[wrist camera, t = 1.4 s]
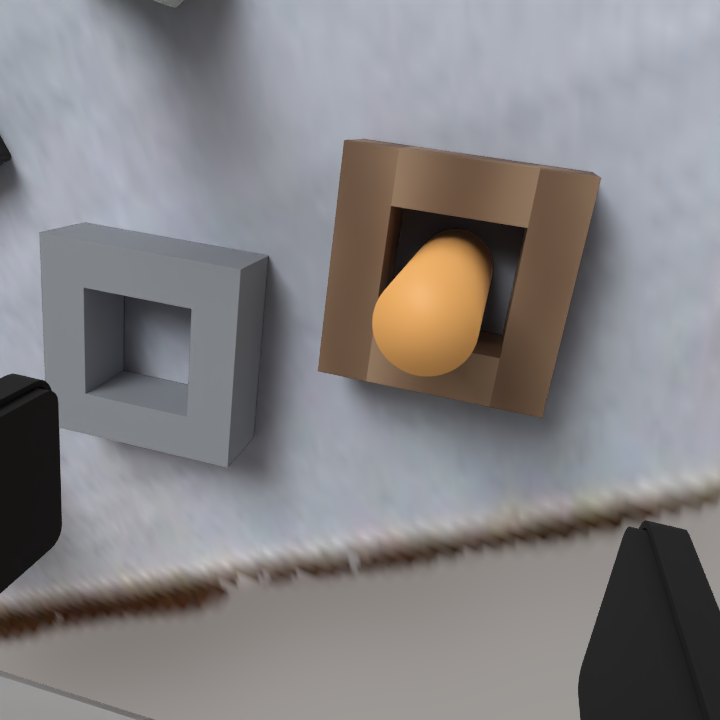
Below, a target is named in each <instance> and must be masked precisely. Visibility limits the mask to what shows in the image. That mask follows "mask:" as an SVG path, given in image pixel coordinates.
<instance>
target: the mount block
mask: <svg viewBox="0 0 720 720" xmlns="http://www.w3.org/2000/svg"><path fill="white" fill-rule="evenodd" d="M600 180H601V178H600V177H599V176H597V175H596V174H594V173H593V172H587V171H580V170H573V169H567V168H560V167H553V166H546V165H539V164H532V163H525V162H518V161H511V160H505V159H498V158H491V157H484V156H477V155H470V154H463V153H456V152H450V151H443V150H436V149H429V148H422V147H415V146H408V145H401V144H394V143H388V142H381V141H374V140H367V139H356V140H344V147H343V156H342V164H341V173H340V182H339V191H338V200H337V208H336V217H335V226H334V235H333V243H332V252H331V261H330V270H329V278H328V287H327V296H326V305H325V313H324V322H323V331H322V340H321V348H320V357H319V366H318V371H319V372H324V373H329V374H334V375H338V376H343V377H348V378H353V379H358V380H363V381H367V382H372V383H377V384H382V385H387V386H392V387H396V388H401V389H406V390H411V391H416V392H420V393H425V394H430V395H435V396H440V397H445V398H449V399H454V400H459V401H464V402H469V403H473V404H478V405H483V406H488V407H493V408H498V409H502V410H507V411H512V412H517V413H522V414H526V415H531V416H536V417H541V418H542V416H543V412H544V408H545V404H546V400H547V396H548V392H549V388H550V384H551V380H552V375H553V371H554V367H555V363H556V359H557V355H558V351H559V347H560V343H561V339H562V335H563V331H564V327H565V323H566V319H567V314H568V310H569V306H570V302H571V298H572V294H573V290H574V286H575V282H576V278H577V274H578V270H579V266H580V262H581V258H582V253H583V249H584V245H585V241H586V237H587V233H588V229H589V225H590V221H591V217H592V213H593V209H594V205H595V201H596V197H597V192H598V188H599V184H600ZM404 208H407V209H413V210H419V211H426V212H432V213H438V214H444V215H450V216H457V217H463V218H469V219H475V220H481V221H488V222H494V223H500V224H506V225H512V226H519V227H525V231H524V236H523V240H522V245H521V250H520V254H519V259H518V264H517V268H516V273H515V278H514V282H513V287H512V292H511V297H510V301H509V306H508V311H507V315H506V320H505V325H504V329H503V334H502V335H500V334H495V333H489V332H484V331H480V332H479V336H478V340H477V343H476V346H475V348H474V350H473V352H472V353H471V355H470V356H469V357H468V359H467V360H466V361H465V362H464V363H463V364H462V365H460V366H459V367H457V368H456V369H454V370H452V371H450V372H448V373H445V374H442V375H438V376H417V375H413V374H409V373H407V372H405V371H402V370H401V369H399V368H397V367H396V366H394V365H393V364H392V363H391V362H390V361H388V360H387V359H386V357H385V356H384V355H383V354H382V352H381V351H380V349H379V347H378V345H377V343H376V341H375V338H374V334H373V328H372V318H373V312H374V308H375V305H376V303H377V301H378V299H379V297H380V295H381V294H382V293H383V291H384V290H385V289H386V288H387V287H388V286H389V284H390V283H391V282H392V281H393V276H394V269H395V263H396V256H397V249H398V242H399V236H400V229H401V222H402V215H403V209H404Z"/></svg>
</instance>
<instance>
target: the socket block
mask: <svg viewBox="0 0 720 720" xmlns="http://www.w3.org/2000/svg"><path fill="white" fill-rule="evenodd" d="M39 234H40V260H41V286H42V312H43V337H44V363H45V381H46V382H47V383H48V384H49V385H50V387H51V390H52V391H53V392H54V393H56V395H57V397H58V406H59V428H63V429H67V430H72V431H76V432H80V433H84V434H88V435H93V436H97V437H101V438H105V439H109V440H114V441H118V442H122V443H126V444H130V445H135V446H139V447H143V448H147V449H151V450H156V451H160V452H164V453H168V454H172V455H177V456H181V457H185V458H189V459H193V460H198V461H202V462H206V463H210V464H214V465H219V466H223V467H228V466H229V465H230V464H231V463H232V462H233V461H234V459H235V458H236V457H237V456H238V455H239V454H240V453H241V451H242V450H243V449H244V448H245V447H246V446H247V445H248V443H249V442H250V441H251V440H252V439H253V438H254V427H255V415H256V403H257V390H258V378H259V366H260V353H261V341H262V329H263V316H264V304H265V292H266V279H267V267H268V255H262V254H257V253H251V252H245V251H240V250H234V249H229V248H223V247H218V246H212V245H207V244H201V243H195V242H190V241H184V240H179V239H173V238H168V237H162V236H156V235H151V234H145V233H140V232H134V231H129V230H123V229H118V228H112V227H106V226H101V225H95V224H90V223H80V224H76V225H71V226H66V227H62V228H57V229H52V230H48V231H43V232H39ZM124 296H129V297H134V298H139V299H144V300H149V301H154V302H159V303H164V304H169V305H174V306H179V307H184V308H190V309H191V331H190V355H189V379H188V385H187V384H182V383H178V382H173V381H169V380H164V379H159V378H155V377H150V376H146V375H141V374H136V373H132V372H127V371H124Z"/></svg>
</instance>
